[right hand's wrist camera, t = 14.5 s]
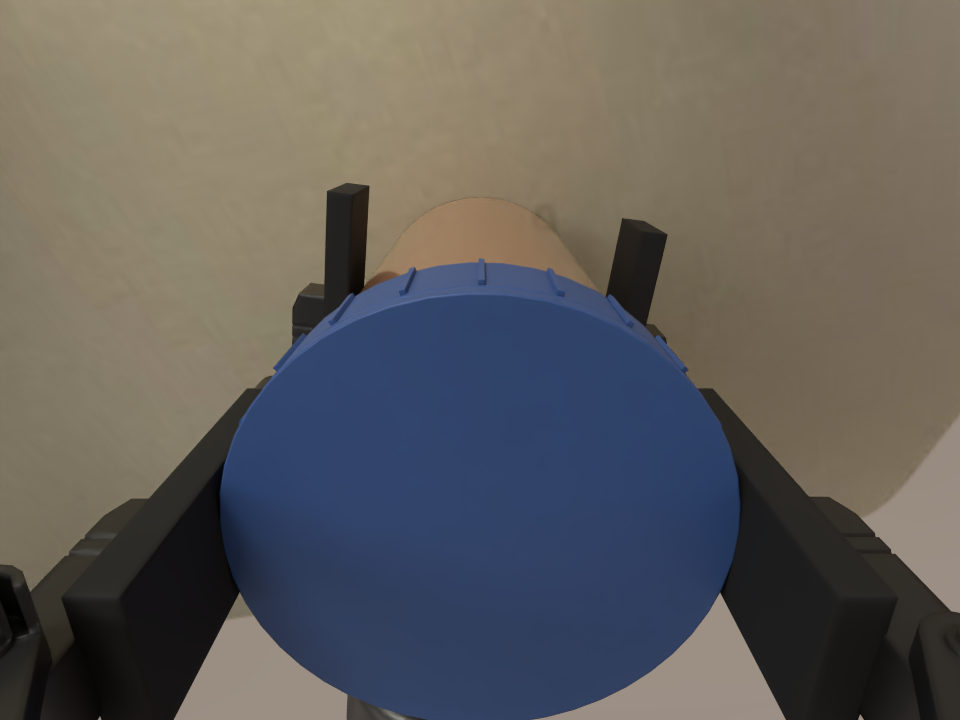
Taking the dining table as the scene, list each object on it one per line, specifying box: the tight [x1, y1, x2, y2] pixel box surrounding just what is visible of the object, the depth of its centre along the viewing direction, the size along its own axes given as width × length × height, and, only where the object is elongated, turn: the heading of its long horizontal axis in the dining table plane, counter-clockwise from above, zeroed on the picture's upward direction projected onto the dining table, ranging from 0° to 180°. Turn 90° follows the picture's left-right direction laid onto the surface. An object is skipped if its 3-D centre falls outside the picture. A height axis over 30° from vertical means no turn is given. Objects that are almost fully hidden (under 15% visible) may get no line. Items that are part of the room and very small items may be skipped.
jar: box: [359, 198, 601, 294], centre depth 18 cm, size 9×9×16 cm
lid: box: [220, 259, 741, 720], centre depth 12 cm, size 9×9×2 cm
